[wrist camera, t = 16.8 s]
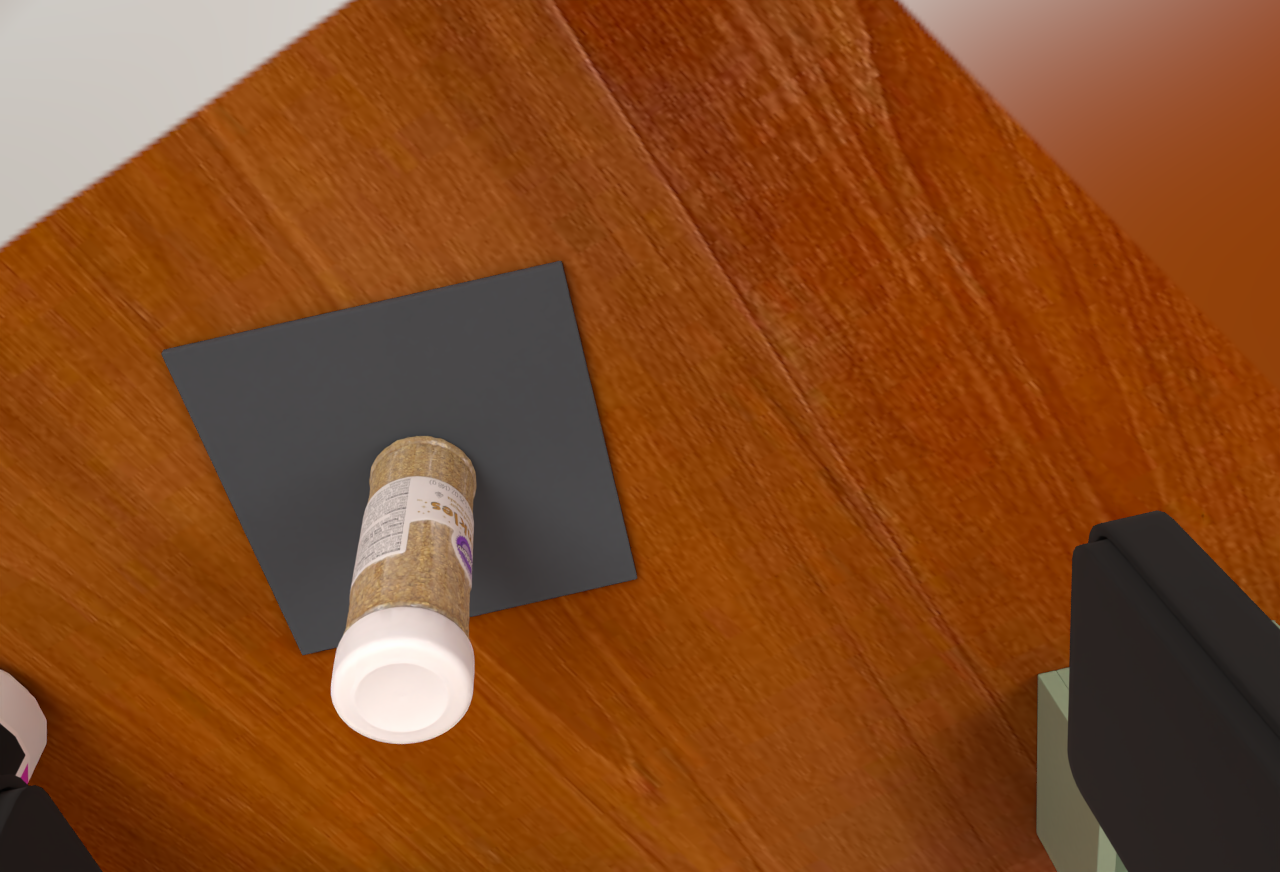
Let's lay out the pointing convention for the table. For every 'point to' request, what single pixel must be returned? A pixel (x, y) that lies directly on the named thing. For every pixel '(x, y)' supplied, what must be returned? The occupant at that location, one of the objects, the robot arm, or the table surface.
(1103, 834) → the crate
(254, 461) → the mat
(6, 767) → the supplement can
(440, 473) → the sprinkles bottle
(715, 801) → the table surface
